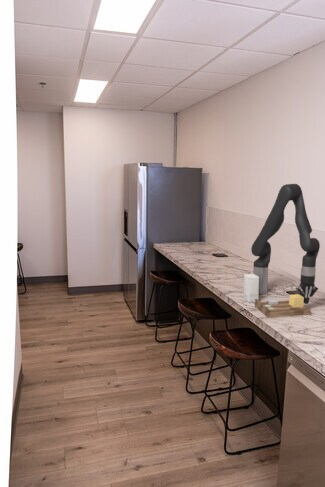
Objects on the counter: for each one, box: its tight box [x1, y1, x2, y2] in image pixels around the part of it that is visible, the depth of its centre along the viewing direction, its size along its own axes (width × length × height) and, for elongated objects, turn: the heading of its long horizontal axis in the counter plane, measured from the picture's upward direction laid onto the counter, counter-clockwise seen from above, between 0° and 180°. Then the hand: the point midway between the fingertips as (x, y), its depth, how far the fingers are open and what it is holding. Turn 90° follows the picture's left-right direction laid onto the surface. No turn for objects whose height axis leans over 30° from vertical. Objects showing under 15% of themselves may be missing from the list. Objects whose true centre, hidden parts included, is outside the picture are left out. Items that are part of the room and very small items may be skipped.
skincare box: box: [243, 273, 260, 304], centre depth 225 cm, size 8×7×16 cm
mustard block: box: [288, 293, 304, 307], centre depth 210 cm, size 6×6×6 cm
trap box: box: [254, 299, 312, 318], centre depth 210 cm, size 17×25×4 cm
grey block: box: [267, 299, 279, 305], centre depth 215 cm, size 4×4×4 cm
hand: (305, 303), depth 212 cm, fingers closed
